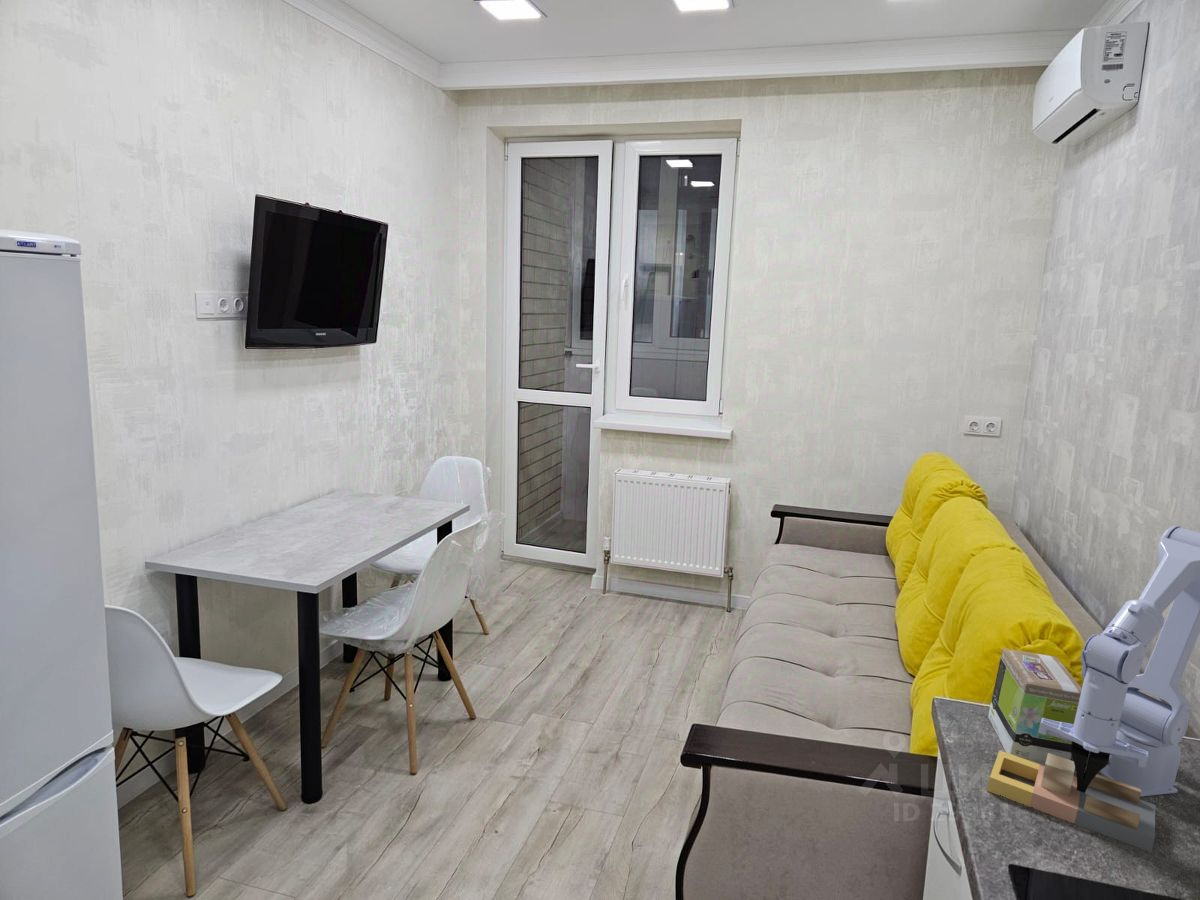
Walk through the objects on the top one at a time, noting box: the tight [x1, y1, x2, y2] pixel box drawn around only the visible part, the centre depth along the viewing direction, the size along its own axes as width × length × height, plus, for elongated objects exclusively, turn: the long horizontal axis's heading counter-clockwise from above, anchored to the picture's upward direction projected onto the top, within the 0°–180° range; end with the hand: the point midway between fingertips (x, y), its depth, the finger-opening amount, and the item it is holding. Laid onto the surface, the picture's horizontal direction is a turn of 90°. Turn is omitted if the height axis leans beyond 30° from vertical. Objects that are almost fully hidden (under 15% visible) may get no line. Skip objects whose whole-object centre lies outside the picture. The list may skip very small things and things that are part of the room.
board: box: [986, 750, 1156, 853], centre depth 130 cm, size 22×10×2 cm, turn 56°
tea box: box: [987, 648, 1082, 766], centre depth 147 cm, size 15×10×15 cm
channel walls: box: [1084, 773, 1141, 829], centre depth 127 cm, size 7×9×2 cm
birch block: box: [1041, 753, 1076, 796], centre depth 131 cm, size 4×4×4 cm
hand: (1081, 788), depth 129 cm, fingers closed
